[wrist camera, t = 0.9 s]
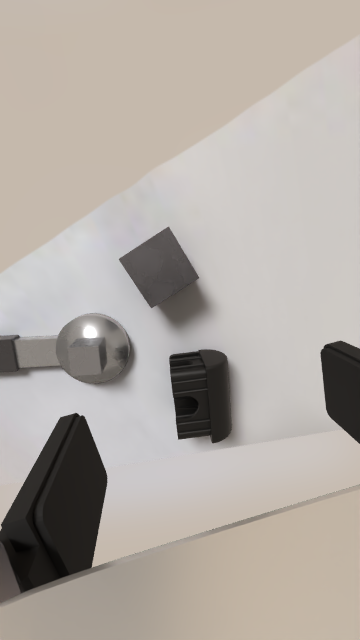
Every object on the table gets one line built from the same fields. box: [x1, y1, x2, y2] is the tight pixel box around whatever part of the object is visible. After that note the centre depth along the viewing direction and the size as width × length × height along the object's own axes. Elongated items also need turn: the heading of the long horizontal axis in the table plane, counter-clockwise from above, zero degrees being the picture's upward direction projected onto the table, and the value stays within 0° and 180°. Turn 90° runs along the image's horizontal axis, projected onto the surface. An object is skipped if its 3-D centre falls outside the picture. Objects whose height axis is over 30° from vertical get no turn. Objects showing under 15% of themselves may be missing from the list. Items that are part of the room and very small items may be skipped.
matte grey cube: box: [119, 227, 199, 308], centre depth 30 cm, size 6×6×6 cm
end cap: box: [169, 350, 232, 443], centre depth 33 cm, size 10×7×7 cm
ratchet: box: [0, 313, 130, 383], centre depth 32 cm, size 22×9×5 cm, turn 92°
